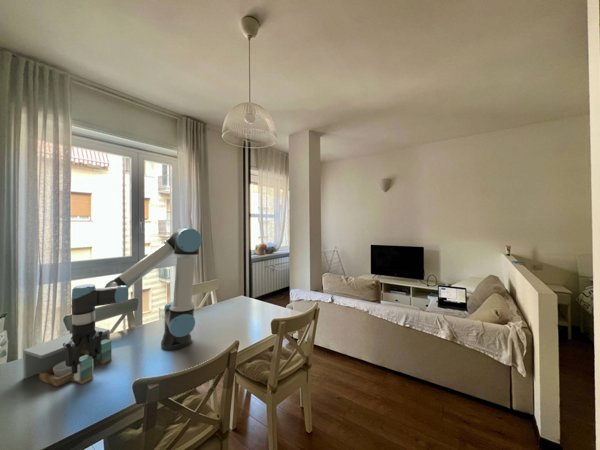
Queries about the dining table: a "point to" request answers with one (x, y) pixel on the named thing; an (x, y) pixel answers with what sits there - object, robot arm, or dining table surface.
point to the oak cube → (84, 351)
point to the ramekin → (61, 369)
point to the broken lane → (103, 353)
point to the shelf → (51, 353)
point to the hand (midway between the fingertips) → (84, 376)
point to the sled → (84, 373)
